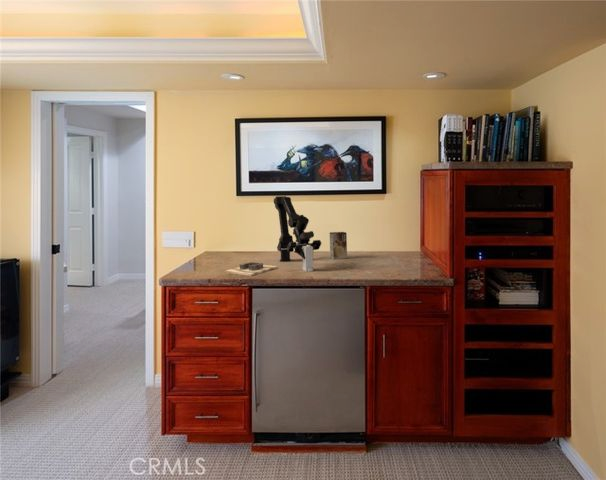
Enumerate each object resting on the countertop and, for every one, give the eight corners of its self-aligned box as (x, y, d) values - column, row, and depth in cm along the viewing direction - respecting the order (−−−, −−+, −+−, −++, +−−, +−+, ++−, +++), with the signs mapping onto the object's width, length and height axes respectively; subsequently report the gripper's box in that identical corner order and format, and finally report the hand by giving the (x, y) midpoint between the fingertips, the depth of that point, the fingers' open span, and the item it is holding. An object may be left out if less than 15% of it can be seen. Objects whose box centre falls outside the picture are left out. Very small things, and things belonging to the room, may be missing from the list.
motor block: (302, 269, 259) (302, 244, 258) (309, 269, 261) (309, 244, 259) (307, 271, 254) (306, 246, 252) (314, 271, 255) (313, 245, 254)
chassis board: (252, 265, 276) (251, 259, 275) (277, 267, 266) (277, 261, 266) (224, 272, 255) (224, 266, 255) (250, 275, 246) (250, 269, 245)
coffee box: (343, 256, 298) (343, 231, 296) (347, 258, 292) (347, 232, 290) (329, 257, 296) (329, 232, 294) (333, 259, 290) (332, 233, 288)
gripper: (288, 227, 255) (296, 250, 246) (319, 225, 262) (328, 247, 253) (283, 240, 263) (291, 263, 255) (314, 238, 270) (322, 260, 262)
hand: (308, 258), depth 256 cm, fingers closed on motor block, 4 cm apart
